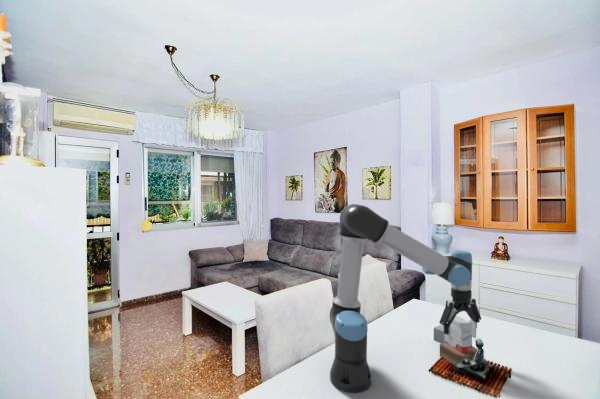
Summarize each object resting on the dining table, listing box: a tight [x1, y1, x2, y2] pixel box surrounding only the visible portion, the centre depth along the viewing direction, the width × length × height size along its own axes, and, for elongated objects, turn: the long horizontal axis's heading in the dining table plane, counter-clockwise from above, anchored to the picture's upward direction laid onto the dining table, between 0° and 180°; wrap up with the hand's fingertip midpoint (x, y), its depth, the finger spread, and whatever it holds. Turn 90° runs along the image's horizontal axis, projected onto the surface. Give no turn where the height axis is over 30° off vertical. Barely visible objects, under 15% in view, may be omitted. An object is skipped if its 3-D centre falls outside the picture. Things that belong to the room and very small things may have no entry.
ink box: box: [449, 315, 473, 353], centre depth 125 cm, size 9×5×12 cm, turn 11°
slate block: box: [433, 324, 448, 344], centre depth 141 cm, size 6×6×6 cm
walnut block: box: [439, 343, 479, 366], centre depth 125 cm, size 12×10×5 cm
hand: (460, 339), depth 125 cm, fingers open, 13 cm apart
